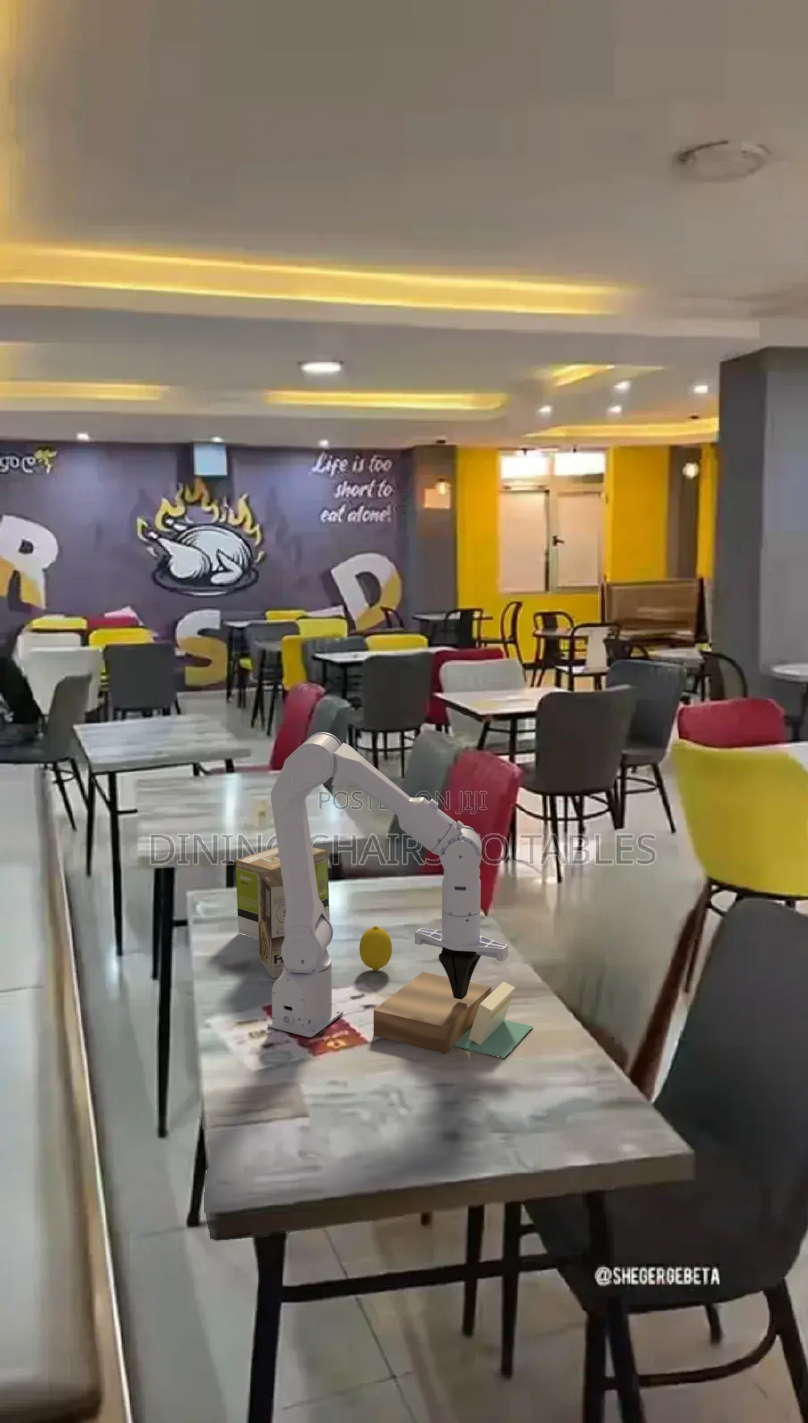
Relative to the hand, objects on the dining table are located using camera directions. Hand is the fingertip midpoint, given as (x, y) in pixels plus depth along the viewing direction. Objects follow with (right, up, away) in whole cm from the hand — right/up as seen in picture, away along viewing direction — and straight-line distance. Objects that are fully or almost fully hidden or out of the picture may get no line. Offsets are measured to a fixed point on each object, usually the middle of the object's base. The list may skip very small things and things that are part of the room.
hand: (460, 996), depth 162 cm
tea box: (-31, +2, +41) cm, 52 cm away
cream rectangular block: (+4, -2, -2) cm, 4 cm away
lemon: (-13, -2, +22) cm, 26 cm away
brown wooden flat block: (-4, -5, +2) cm, 6 cm away
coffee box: (-29, -1, +23) cm, 38 cm away
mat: (+5, -5, -2) cm, 8 cm away
